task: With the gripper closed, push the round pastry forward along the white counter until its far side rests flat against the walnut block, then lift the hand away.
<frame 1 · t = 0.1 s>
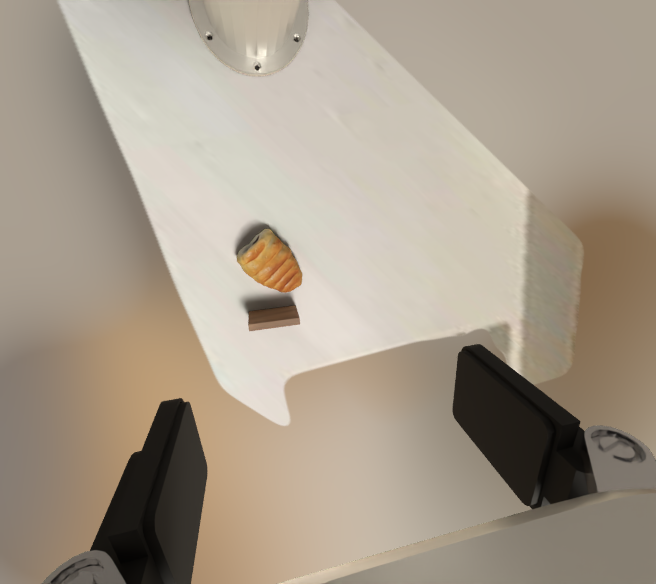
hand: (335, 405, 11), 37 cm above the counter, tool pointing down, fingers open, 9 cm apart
walnut block: (272, 311, 49), on the counter
pastry: (270, 258, 46), on the counter
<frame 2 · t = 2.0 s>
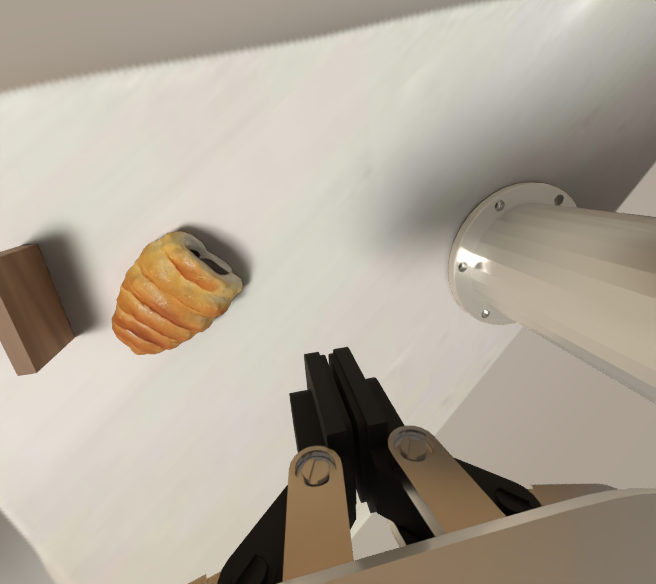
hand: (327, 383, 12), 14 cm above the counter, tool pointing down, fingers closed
walnut block: (49, 294, 22), on the counter
pastry: (183, 288, 24), on the counter
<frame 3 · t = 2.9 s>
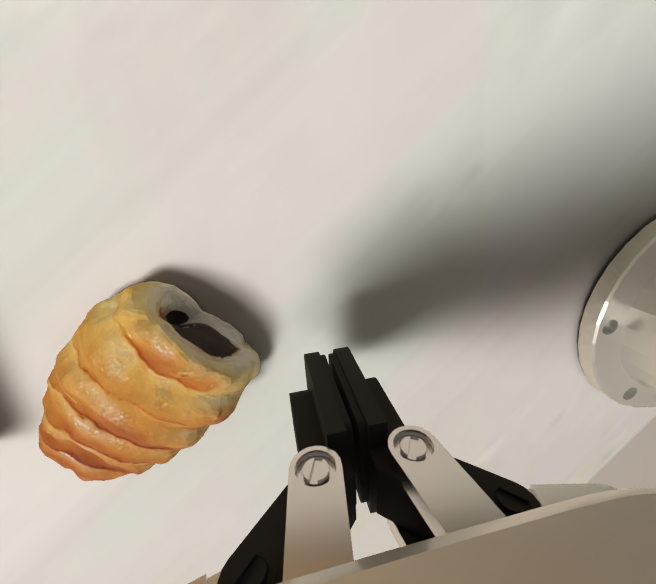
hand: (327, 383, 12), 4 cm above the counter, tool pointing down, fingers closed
pastry: (163, 365, 15), on the counter
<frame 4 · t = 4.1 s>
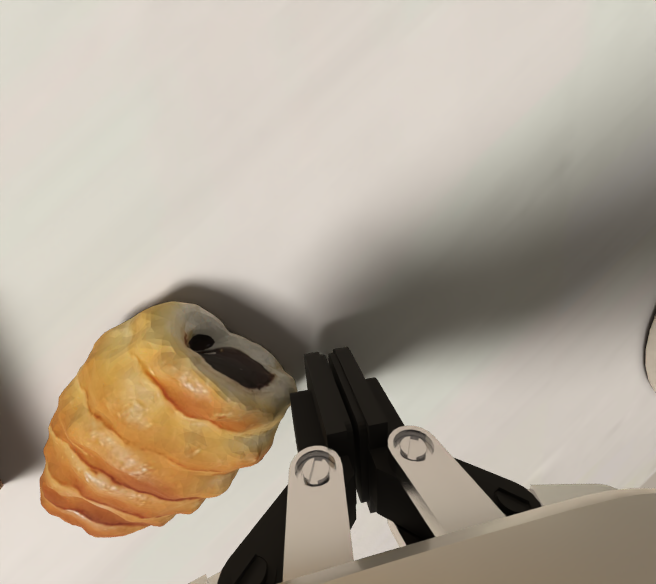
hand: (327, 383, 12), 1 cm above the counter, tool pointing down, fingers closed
pastry: (183, 394, 13), on the counter
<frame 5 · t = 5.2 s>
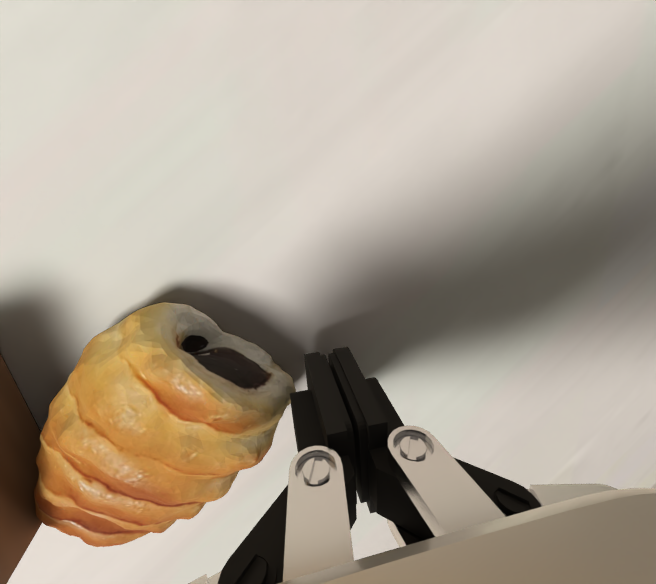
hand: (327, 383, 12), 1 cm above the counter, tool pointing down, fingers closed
walnut block: (12, 412, 11), on the counter
pastry: (178, 397, 13), on the counter, touching gripper, walnut block
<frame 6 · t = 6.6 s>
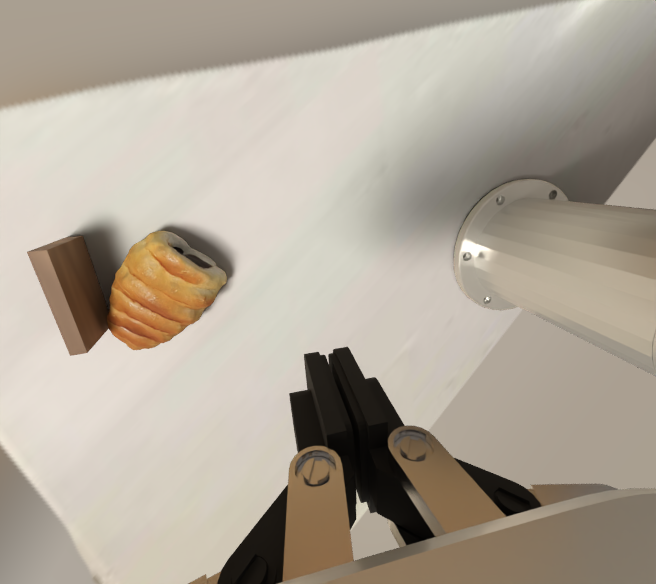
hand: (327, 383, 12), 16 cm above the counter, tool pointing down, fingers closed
walnut block: (91, 282, 24), on the counter
pastry: (171, 284, 26), on the counter
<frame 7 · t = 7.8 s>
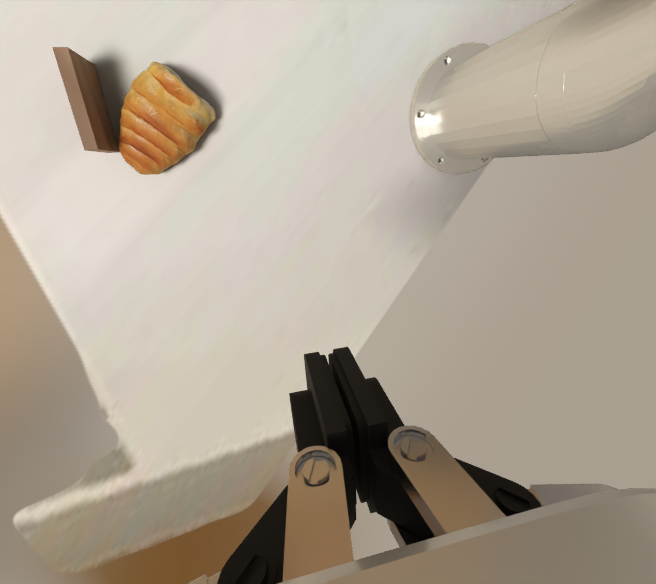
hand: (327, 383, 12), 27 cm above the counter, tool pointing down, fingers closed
walnut block: (101, 110, 29), on the counter
pastry: (170, 123, 31), on the counter
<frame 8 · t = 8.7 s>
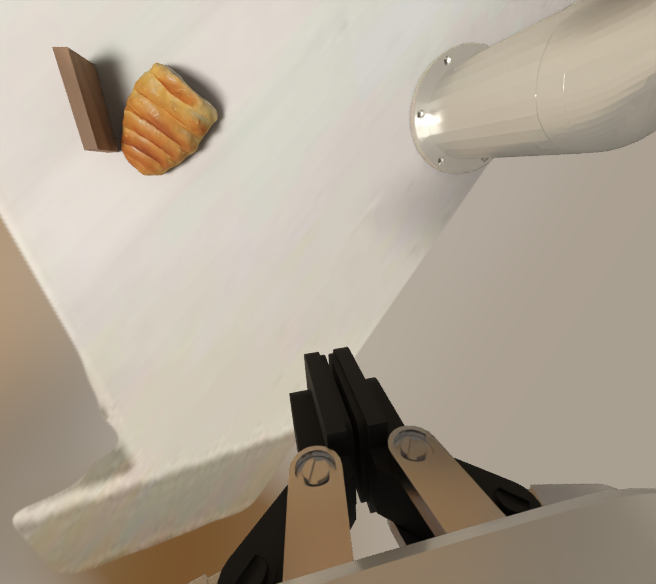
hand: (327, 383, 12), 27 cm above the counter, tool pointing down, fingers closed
walnut block: (101, 110, 29), on the counter
pastry: (172, 124, 31), on the counter
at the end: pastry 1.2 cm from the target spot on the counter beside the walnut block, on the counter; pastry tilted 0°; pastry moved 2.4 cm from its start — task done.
